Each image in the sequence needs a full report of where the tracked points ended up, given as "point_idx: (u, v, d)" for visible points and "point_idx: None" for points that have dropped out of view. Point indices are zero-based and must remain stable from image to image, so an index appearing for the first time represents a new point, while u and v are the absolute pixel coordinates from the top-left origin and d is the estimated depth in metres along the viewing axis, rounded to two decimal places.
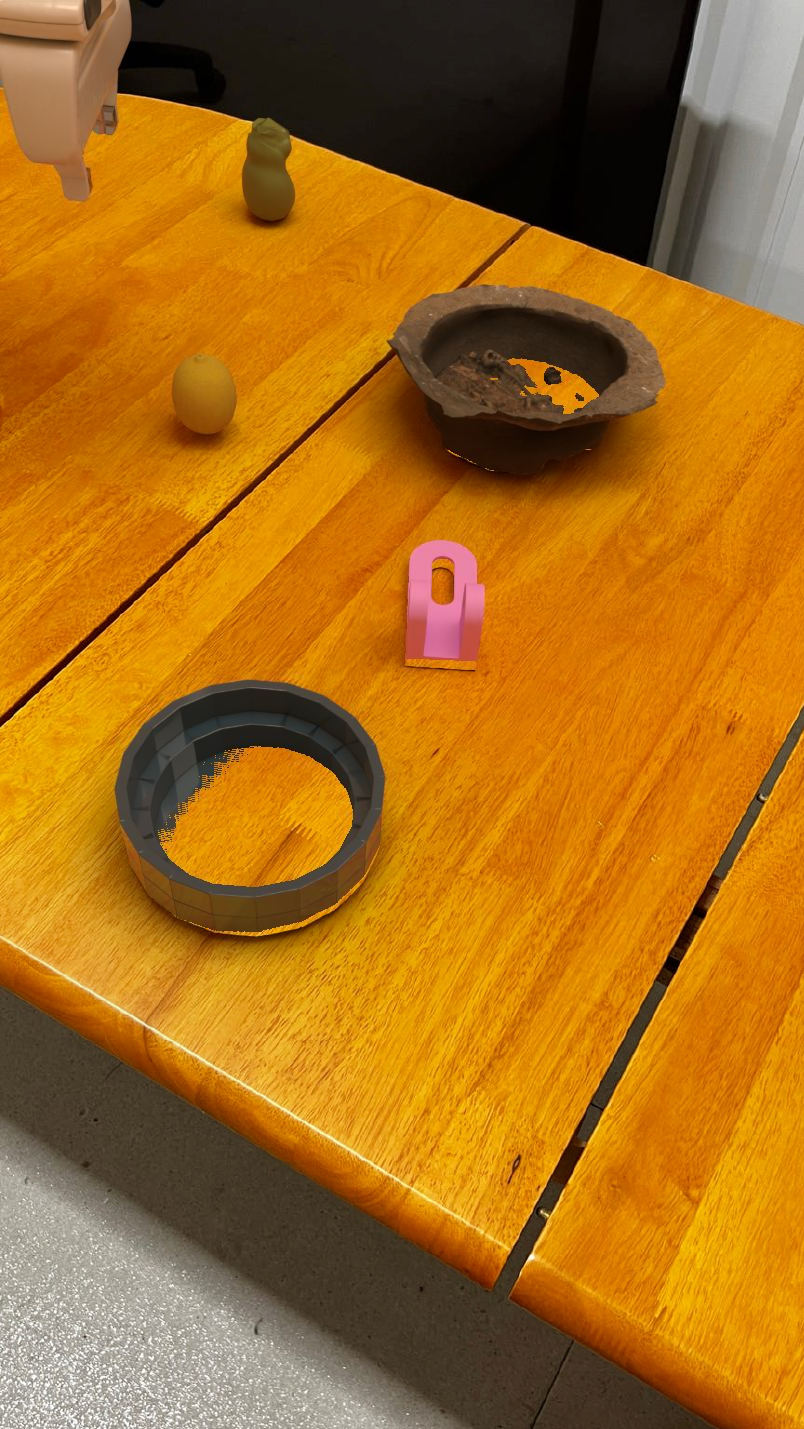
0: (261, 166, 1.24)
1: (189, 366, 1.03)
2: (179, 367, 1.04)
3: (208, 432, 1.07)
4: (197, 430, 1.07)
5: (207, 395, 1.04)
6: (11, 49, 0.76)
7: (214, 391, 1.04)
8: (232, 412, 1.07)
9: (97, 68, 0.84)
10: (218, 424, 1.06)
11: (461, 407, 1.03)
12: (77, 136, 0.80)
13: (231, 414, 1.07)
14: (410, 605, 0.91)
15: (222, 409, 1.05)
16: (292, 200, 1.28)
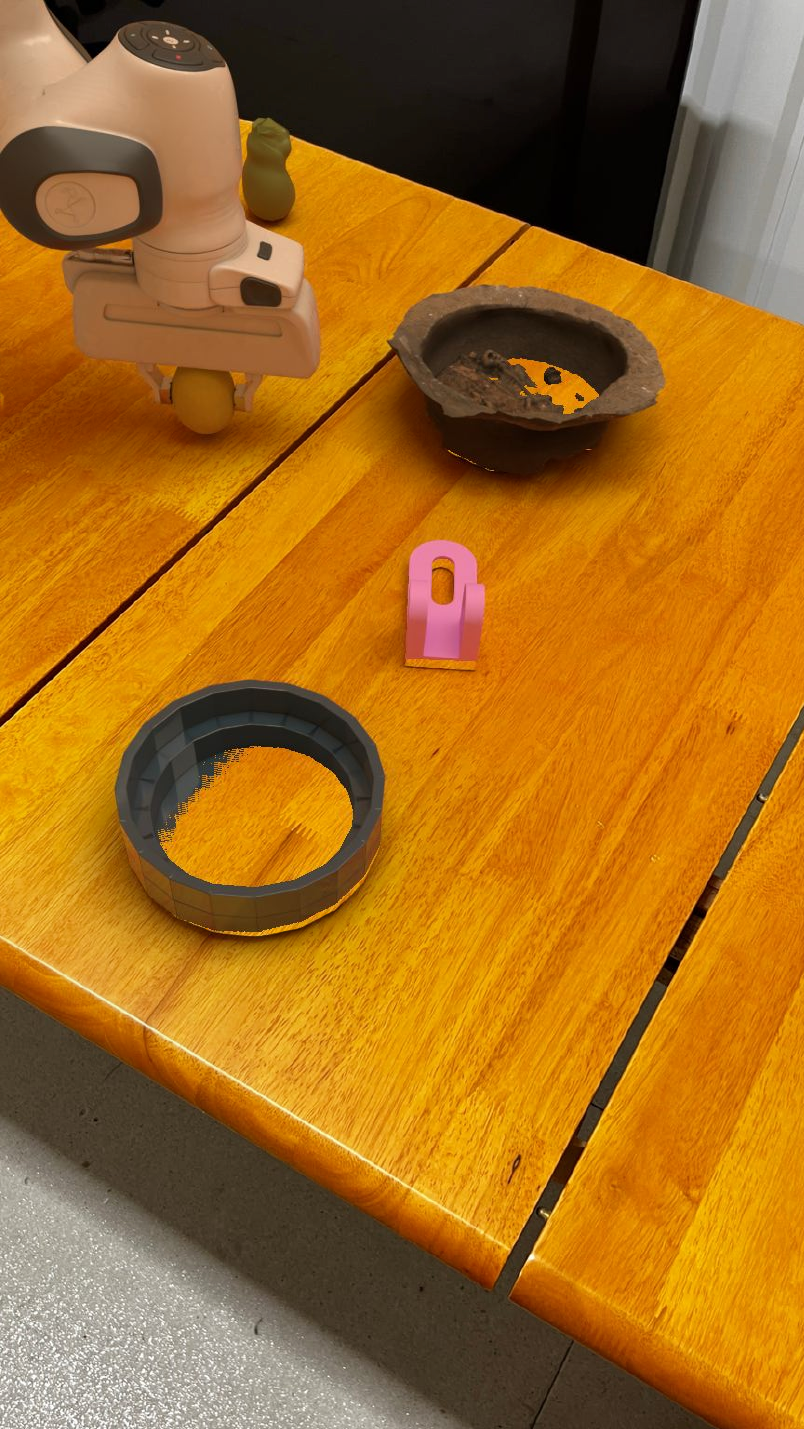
0: (261, 166, 1.24)
1: None
2: (179, 367, 1.04)
3: (208, 432, 1.07)
4: (197, 430, 1.07)
5: (207, 395, 1.04)
6: (301, 305, 0.97)
7: (213, 391, 1.04)
8: (232, 412, 1.07)
9: None
10: (218, 424, 1.06)
11: (461, 407, 1.03)
12: None
13: (231, 414, 1.07)
14: (410, 605, 0.91)
15: (222, 409, 1.05)
16: (292, 200, 1.28)
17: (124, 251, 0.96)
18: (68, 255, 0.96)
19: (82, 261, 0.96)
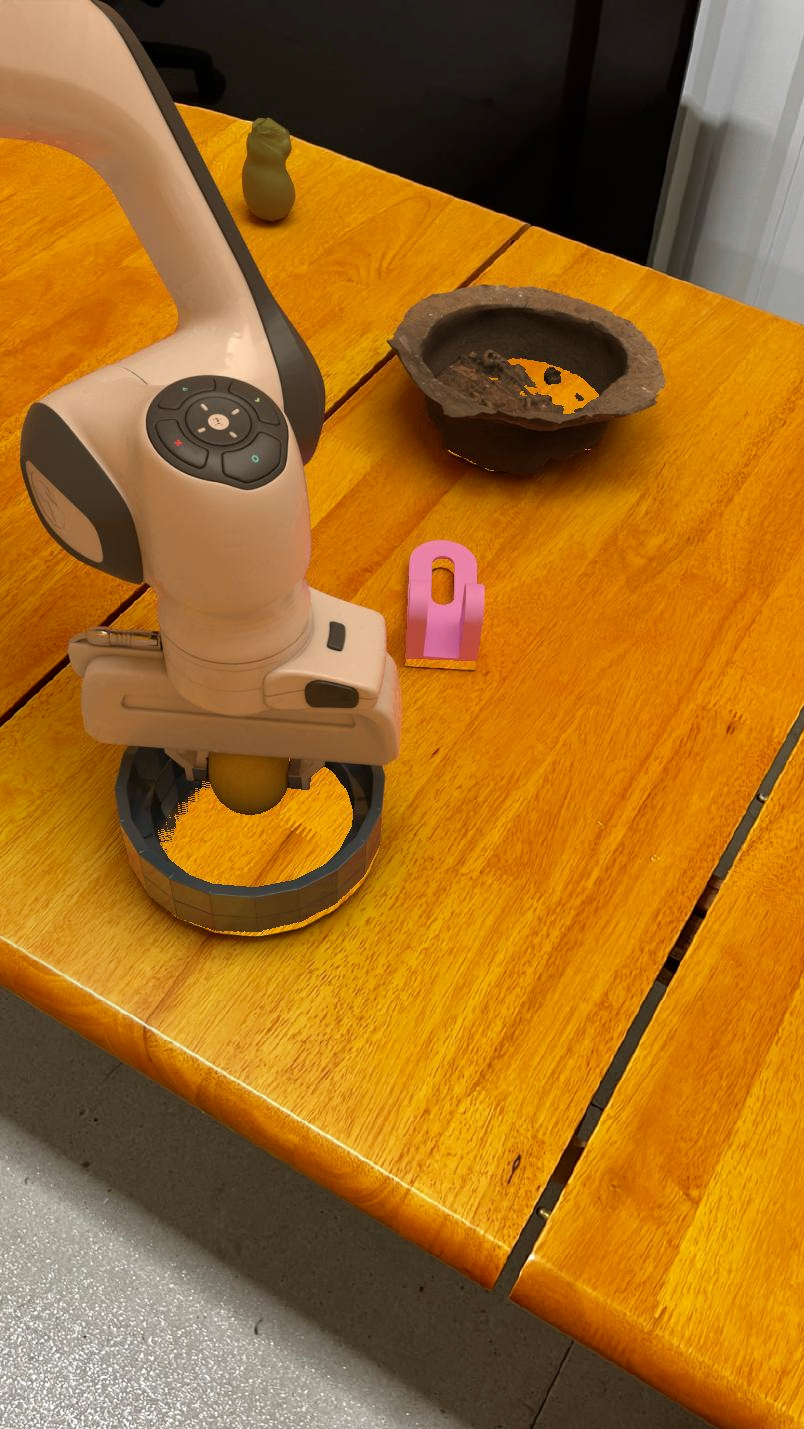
0: (261, 166, 1.24)
1: None
2: None
3: None
4: (241, 813, 0.83)
5: (255, 781, 0.80)
6: (382, 696, 0.74)
7: (263, 775, 0.80)
8: (285, 790, 0.83)
9: None
10: (268, 807, 0.83)
11: (461, 407, 1.03)
12: None
13: (284, 792, 0.83)
14: (410, 605, 0.91)
15: (274, 792, 0.82)
16: (292, 200, 1.28)
17: (150, 635, 0.72)
18: (75, 638, 0.73)
19: (94, 645, 0.73)
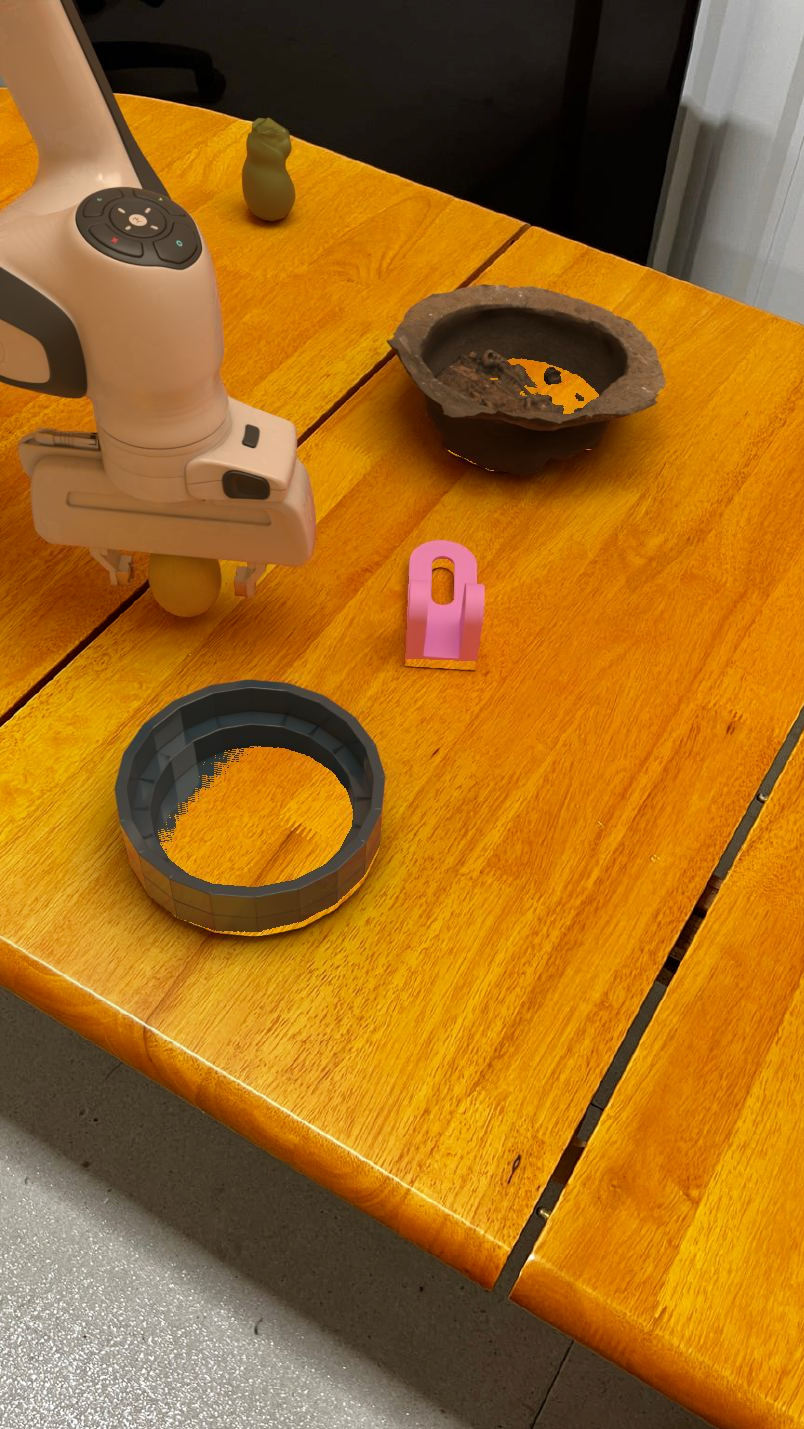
0: (261, 166, 1.24)
1: None
2: None
3: (189, 616, 0.95)
4: (177, 614, 0.94)
5: (187, 581, 0.91)
6: (292, 494, 0.85)
7: (195, 576, 0.91)
8: (216, 594, 0.94)
9: None
10: (201, 608, 0.94)
11: (461, 407, 1.03)
12: None
13: (215, 596, 0.94)
14: (410, 605, 0.91)
15: (205, 593, 0.93)
16: (292, 200, 1.28)
17: (89, 435, 0.83)
18: (25, 438, 0.83)
19: (41, 445, 0.84)
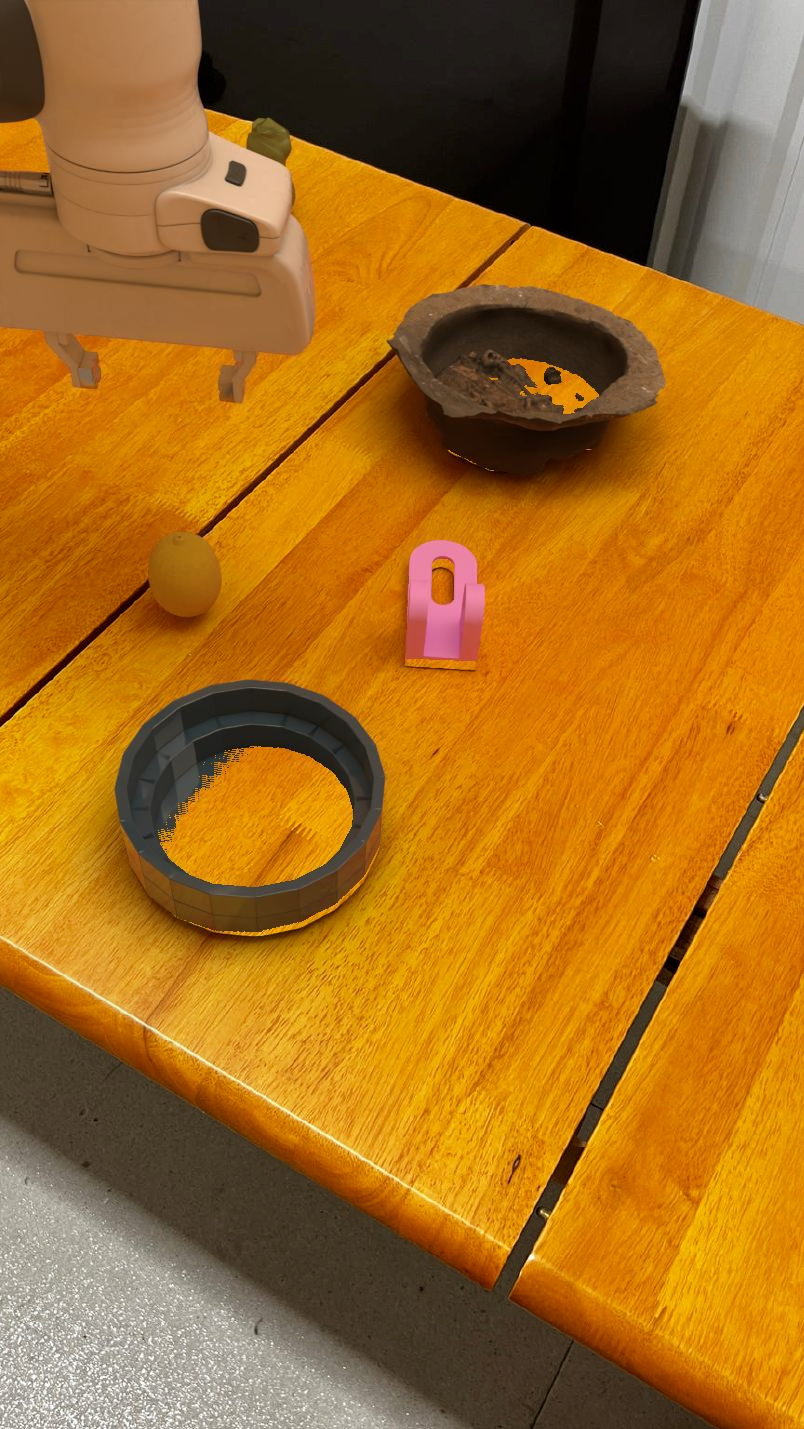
0: None
1: (167, 548, 0.91)
2: (156, 548, 0.92)
3: (189, 616, 0.95)
4: (177, 614, 0.94)
5: (187, 581, 0.91)
6: (287, 251, 0.70)
7: (195, 576, 0.91)
8: (216, 594, 0.94)
9: None
10: (201, 608, 0.94)
11: (461, 407, 1.03)
12: None
13: (215, 596, 0.94)
14: (410, 605, 0.91)
15: (205, 593, 0.93)
16: (292, 200, 1.28)
17: (39, 175, 0.68)
18: None
19: None
